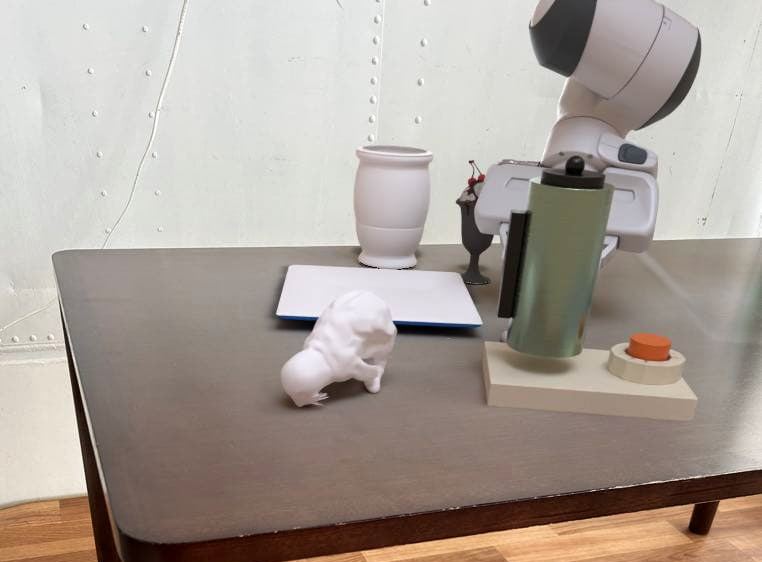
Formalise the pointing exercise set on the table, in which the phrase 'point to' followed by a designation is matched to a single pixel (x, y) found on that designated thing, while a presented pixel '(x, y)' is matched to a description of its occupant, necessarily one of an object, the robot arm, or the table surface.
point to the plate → (381, 294)
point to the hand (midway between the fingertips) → (548, 270)
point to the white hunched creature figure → (342, 347)
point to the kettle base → (589, 383)
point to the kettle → (554, 260)
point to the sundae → (473, 228)
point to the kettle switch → (649, 347)
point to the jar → (391, 204)
